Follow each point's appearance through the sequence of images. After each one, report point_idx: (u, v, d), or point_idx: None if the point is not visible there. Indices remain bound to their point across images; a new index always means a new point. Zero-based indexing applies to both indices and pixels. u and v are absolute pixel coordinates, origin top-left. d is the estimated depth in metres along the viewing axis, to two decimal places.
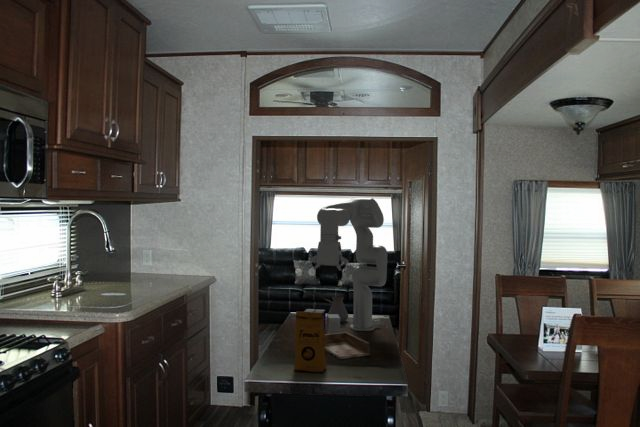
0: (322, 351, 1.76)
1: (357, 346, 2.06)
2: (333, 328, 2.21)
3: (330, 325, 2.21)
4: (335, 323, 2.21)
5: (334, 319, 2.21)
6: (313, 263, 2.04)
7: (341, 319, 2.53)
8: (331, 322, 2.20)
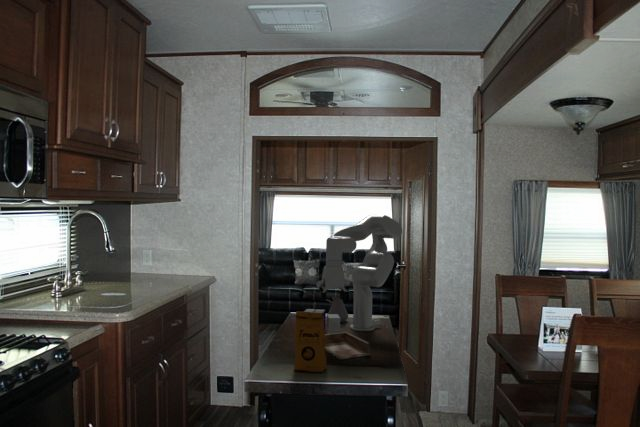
0: (322, 351, 1.76)
1: (357, 346, 2.06)
2: (333, 328, 2.21)
3: (330, 325, 2.21)
4: (335, 323, 2.21)
5: (334, 319, 2.21)
6: (321, 287, 2.20)
7: (341, 319, 2.53)
8: (331, 322, 2.21)
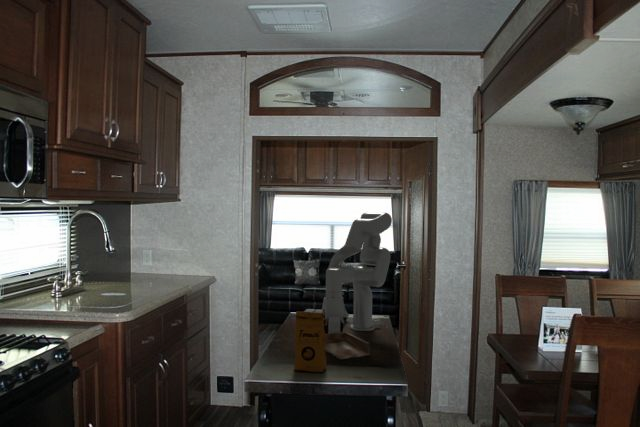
0: (322, 351, 1.76)
1: (357, 346, 2.06)
2: (333, 328, 2.21)
3: (330, 325, 2.21)
4: (335, 323, 2.21)
5: (334, 319, 2.21)
6: None
7: None
8: (331, 322, 2.20)
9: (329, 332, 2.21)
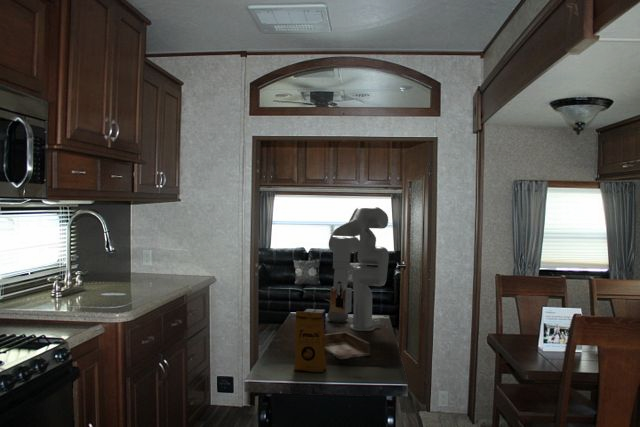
0: (322, 351, 1.76)
1: (357, 346, 2.06)
2: (348, 300, 2.08)
3: (346, 297, 2.07)
4: (349, 294, 2.09)
5: (348, 290, 2.09)
6: (340, 293, 2.05)
7: (341, 319, 2.53)
8: (347, 294, 2.08)
9: (346, 305, 2.07)
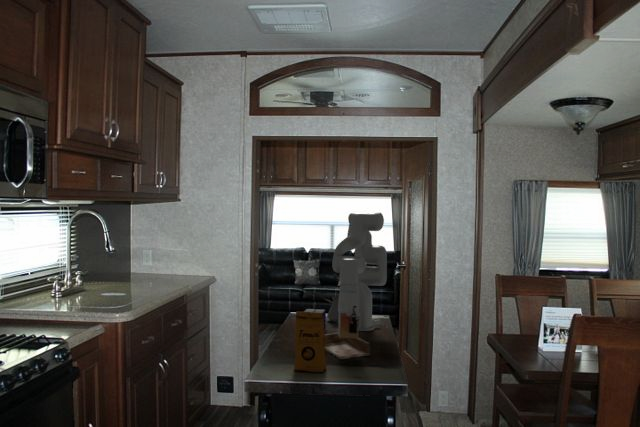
0: (322, 351, 1.76)
1: (357, 346, 2.06)
2: None
3: (358, 320, 1.98)
4: None
5: None
6: None
7: None
8: None
9: (358, 329, 1.97)
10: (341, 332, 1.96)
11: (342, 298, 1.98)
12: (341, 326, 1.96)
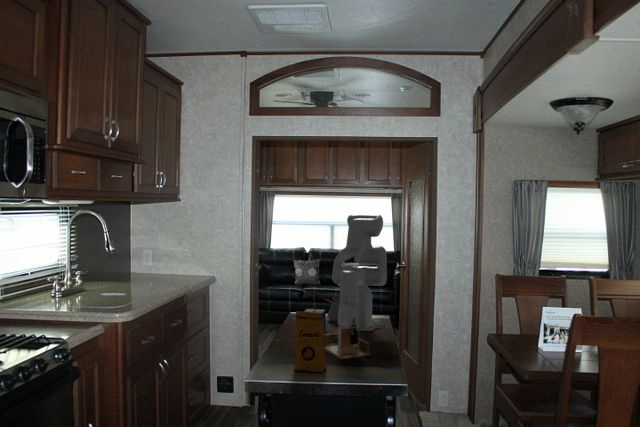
0: (322, 351, 1.76)
1: None
2: None
3: (358, 336, 1.98)
4: None
5: None
6: None
7: None
8: None
9: (358, 344, 1.98)
10: (342, 348, 1.96)
11: (342, 310, 1.98)
12: (342, 342, 1.96)
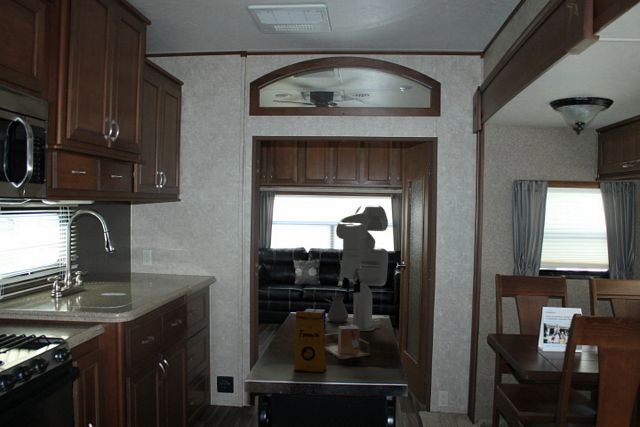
0: (322, 351, 1.76)
1: None
2: None
3: (358, 336, 1.98)
4: None
5: None
6: None
7: (341, 319, 2.53)
8: None
9: (358, 344, 1.98)
10: (342, 348, 1.96)
11: (345, 262, 2.13)
12: (342, 342, 1.96)
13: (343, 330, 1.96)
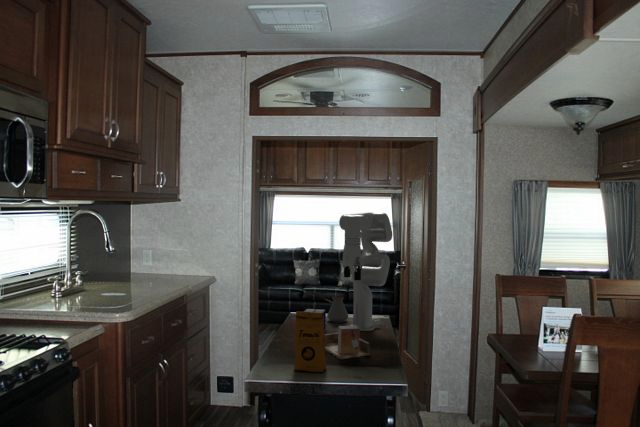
0: (322, 351, 1.76)
1: None
2: None
3: (358, 336, 1.98)
4: None
5: None
6: None
7: (341, 319, 2.53)
8: None
9: (358, 344, 1.98)
10: (342, 348, 1.96)
11: (346, 251, 2.22)
12: (342, 342, 1.96)
13: (343, 330, 1.96)
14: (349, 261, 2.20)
